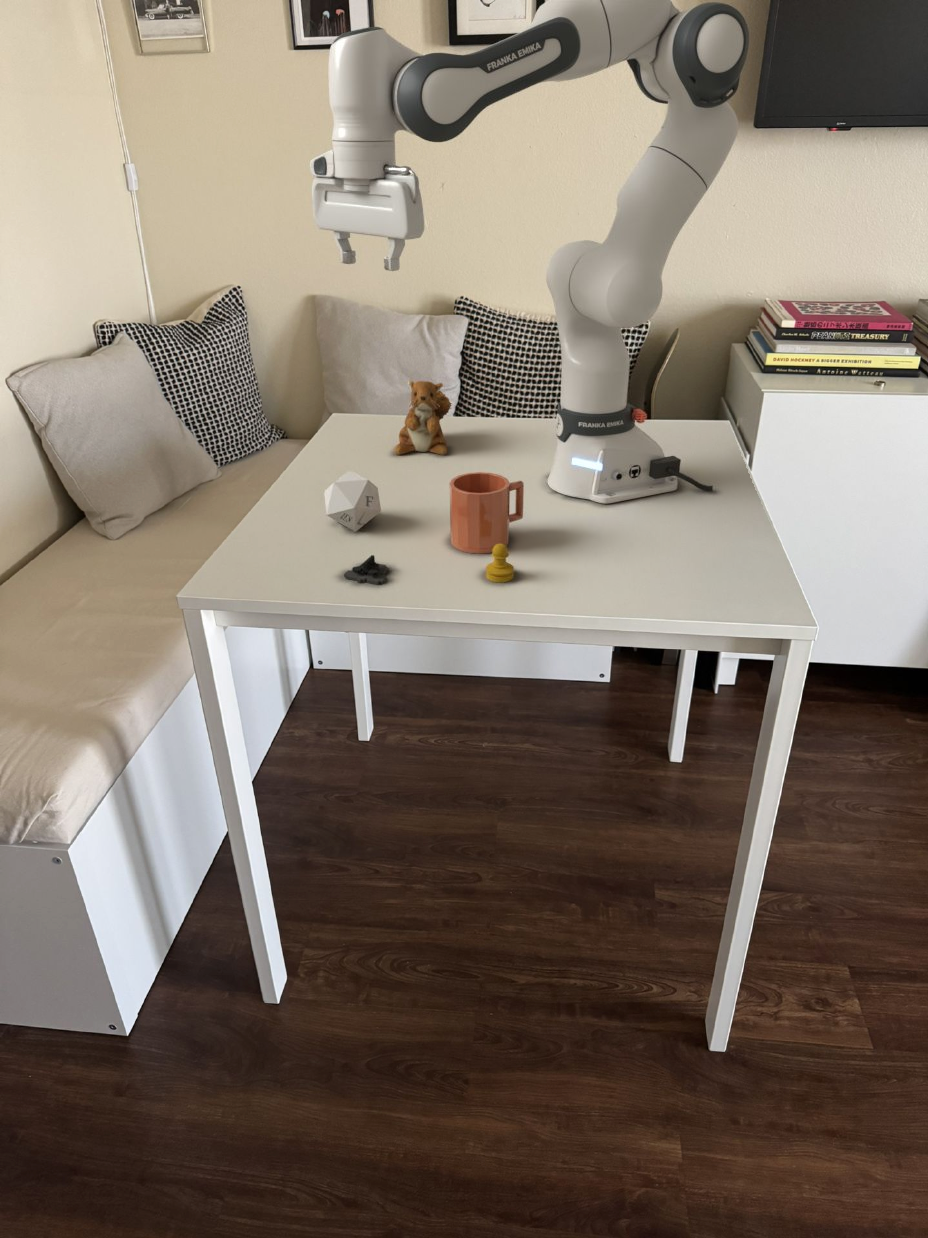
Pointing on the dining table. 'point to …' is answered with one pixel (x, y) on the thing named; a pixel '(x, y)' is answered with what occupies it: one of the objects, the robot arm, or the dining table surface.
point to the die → (352, 501)
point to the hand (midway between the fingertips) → (369, 266)
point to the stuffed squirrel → (424, 420)
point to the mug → (482, 511)
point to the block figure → (368, 572)
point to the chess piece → (499, 565)
